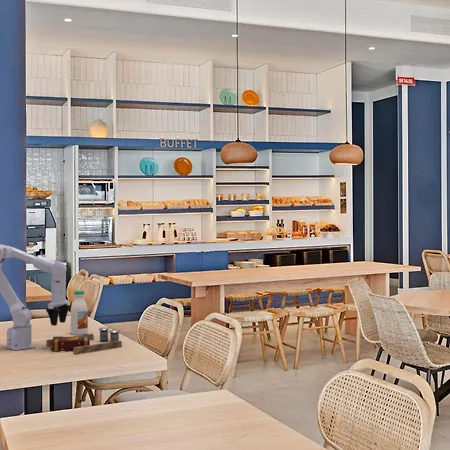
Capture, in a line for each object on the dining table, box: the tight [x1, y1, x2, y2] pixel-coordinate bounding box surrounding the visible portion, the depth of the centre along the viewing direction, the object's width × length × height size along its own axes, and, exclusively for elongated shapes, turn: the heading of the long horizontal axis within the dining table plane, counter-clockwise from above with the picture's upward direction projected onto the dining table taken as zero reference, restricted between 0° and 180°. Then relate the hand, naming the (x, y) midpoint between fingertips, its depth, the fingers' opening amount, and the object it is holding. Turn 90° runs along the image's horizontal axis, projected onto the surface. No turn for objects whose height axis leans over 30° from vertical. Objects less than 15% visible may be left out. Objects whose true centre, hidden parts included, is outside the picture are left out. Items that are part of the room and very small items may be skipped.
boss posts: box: [98, 326, 121, 343], centre depth 290 cm, size 5×13×6 cm, turn 43°
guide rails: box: [46, 333, 123, 355], centre depth 282 cm, size 22×23×2 cm
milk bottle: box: [70, 289, 89, 336], centre depth 311 cm, size 8×8×20 cm
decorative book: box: [50, 335, 91, 352], centre depth 277 cm, size 11×16×5 cm
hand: (58, 323), depth 280 cm, fingers open, 7 cm apart
